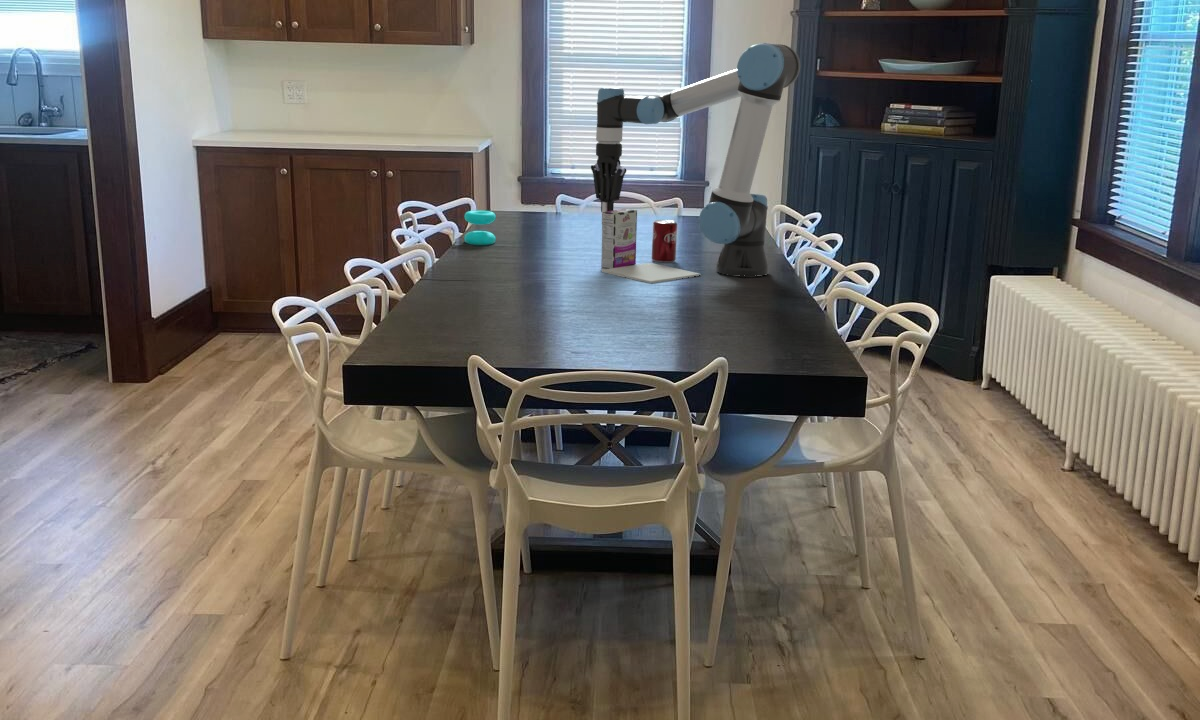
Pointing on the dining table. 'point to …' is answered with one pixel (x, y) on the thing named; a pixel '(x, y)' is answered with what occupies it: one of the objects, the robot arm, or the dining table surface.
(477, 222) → the donuts
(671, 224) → the soda can
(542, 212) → the dining table surface
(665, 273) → the mat
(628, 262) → the candy bar box
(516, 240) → the dining table surface
